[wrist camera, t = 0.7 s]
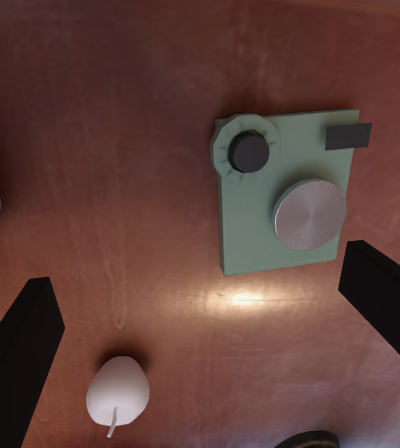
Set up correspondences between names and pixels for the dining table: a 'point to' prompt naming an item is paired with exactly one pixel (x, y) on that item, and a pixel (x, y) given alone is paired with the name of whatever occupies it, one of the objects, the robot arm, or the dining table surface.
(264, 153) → the button
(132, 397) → the plain white apple
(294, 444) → the lantern
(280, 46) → the dining table surface
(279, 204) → the pan
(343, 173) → the scale
